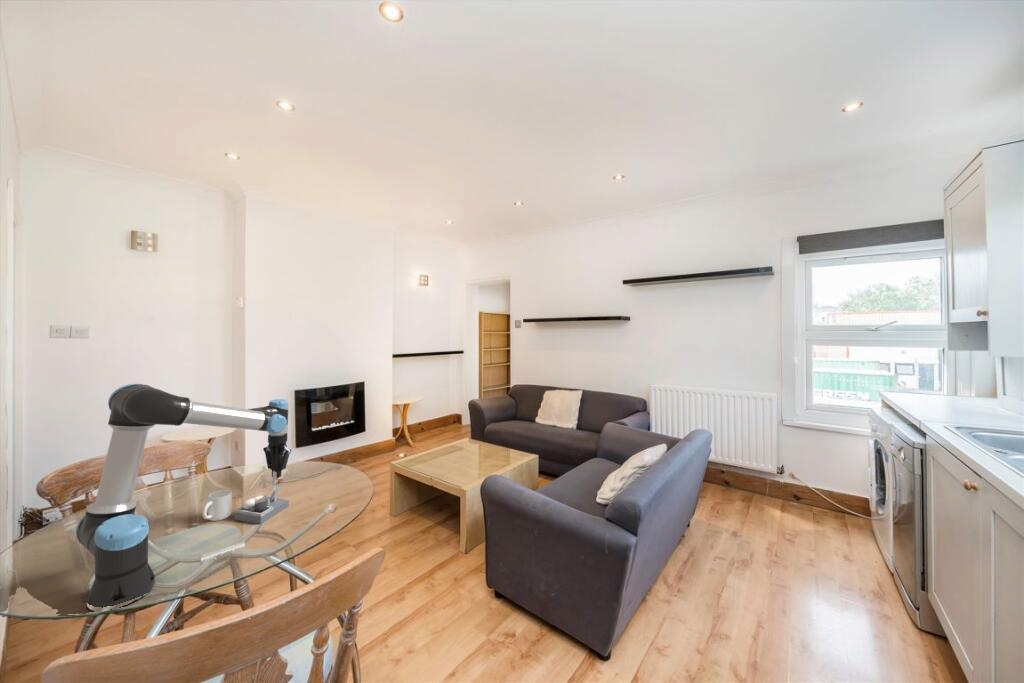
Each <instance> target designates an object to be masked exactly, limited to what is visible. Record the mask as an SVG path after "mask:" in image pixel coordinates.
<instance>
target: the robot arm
mask: <svg viewBox="0 0 1024 683" xmlns="http://www.w3.org/2000/svg"><path fill="white" fill-rule="evenodd" d="M107 405H108V409H109V410H110V414H109V419H108V422H107V424H108V426H109V427H111V429H112V431H111V432H112V433H111V438H110V441H109V445H108V449H107V452H106V453H107V454H106V457H105V461H104V464H103V469H102V473H101V477H100V481H99V486H98V489H97V494H96V497H95V500H94V502H93V503H92V504H91V505H88V506H87V507H86V511H85V515H84V516H82V518H81V519H80V520H79V521H78V523H77V525H76V528H75V529H76V530H75V535H76V539H77V541H78V543H80V545H82V546H83V547H84V548H85V549H86V550H88V552H90V554H92V556H93V558H94V580H93V583H92V585H91V588H90V589H89V590H90V591H89V593H88V594H87V597H86V599H85V600H86V602H87V603H88V604H89V605H92V606H94V607H102V608H103V607H107V606H114V605H117V604H120V603H123V602H126V601H129V600H132V599H135V598H137V597H140V596H143V595H144V594H146V593H148V592H149V591H150V590H151V589H152V588H153V587H155V586H156V575H155V573H154V571H153V569H152V567H151V566H150V563H149V530H150V527H149V523H148V522H149V521H148V519H147V517H146V516H144V515H141V514H137V513H136V514H135V512H136V509H137V502H135V501H134V500H133V495H134V491H135V488H136V483H137V479H138V474H139V470H140V466H141V463H142V459H143V458H142V457H143V454H144V449H145V445H146V442H147V437H148V433H149V430H150V429H151V428H153V427H155V426H156V425H163V426H165V425H166V426H175V427H176V426H179V427H180V426H181V425H183V424H189V425H199V426H210V427H217V428H218V427H220V428H230V429H242V430H251V431H260V432H267V434H268V435H267V446H266V447H263V448H262V449H263V452H264V454H265V461H266V465H267V469H269V470H271V478H272V486H276V485H277V481H278V480H279V479H280V478H281V477H282V471H284V470H286V468H287V464H288V461H289V458H290V454H291V453H292V449H291V448H290V449H289V448H288V446H287V441H288V430H289V429H288V424H289V410H290V409H289V401H288V400H287V399H283V398H282V399H281V398H277V399H271V400H270V401H269V403H268V405H266V406H260V407H259V406H258V407H254V408H247V409H246V408H240V407H232V406H224V405H217V404H212V403H211V404H210V403H206V402H205V403H204V402H198V401H192V400H191V399H190V397H187V396H186V397H185V396H179V395H175V394H172V393H169V392H166V391H164V390H162V389H159V388H155V387H154V386H153V387H152V386H151V385H148V384H142V383H130V384H126V385H123V386H121V387H119V388H117V389H116V390H114V391H113V392H112V393H111V394H110V396H109V398H108V402H107ZM154 585H155V586H154ZM153 589H154V588H153ZM153 589H152V590H153ZM152 590H151V591H152ZM151 591H150V592H151ZM150 592H149V593H150ZM149 593H148V594H149Z"/></svg>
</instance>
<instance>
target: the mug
mask: <svg viewBox="0 0 1024 683" xmlns="http://www.w3.org/2000/svg"><path fill="white" fill-rule="evenodd" d="M232 500H233V491H232V490H231V489H220V490H215V491H213V492H211V493H209V494H208V495H207V503H205V505H204V507H203V508H202V511H201V512H202V518H203V519H204V520H208V521H212V522H219V521H222V520H225V519H227V518H229V517H230V516H231V514H232V507H233V506H232V505H233V501H232Z"/></svg>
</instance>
